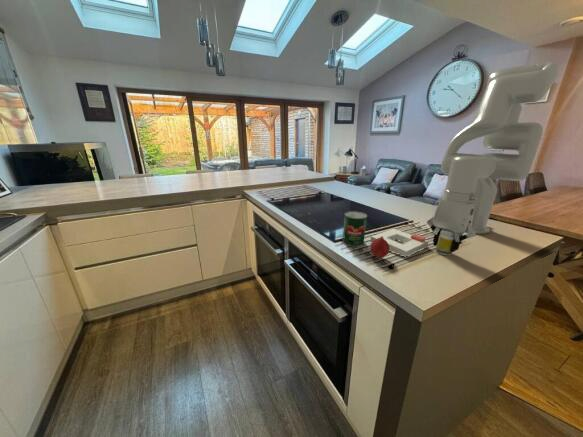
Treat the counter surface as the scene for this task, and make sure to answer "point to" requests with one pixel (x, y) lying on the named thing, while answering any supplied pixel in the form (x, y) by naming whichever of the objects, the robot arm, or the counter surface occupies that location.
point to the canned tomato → (354, 228)
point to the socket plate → (411, 241)
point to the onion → (379, 247)
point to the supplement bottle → (445, 242)
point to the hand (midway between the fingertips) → (444, 247)
